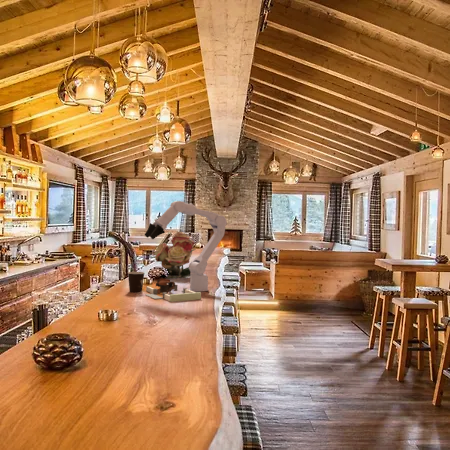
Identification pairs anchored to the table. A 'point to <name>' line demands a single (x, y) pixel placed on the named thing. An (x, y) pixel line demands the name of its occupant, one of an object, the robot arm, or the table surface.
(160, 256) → the rose bouquet
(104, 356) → the table surface
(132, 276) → the coffee mug
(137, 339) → the table surface
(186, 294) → the lane
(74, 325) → the table surface
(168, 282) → the pottery mug
